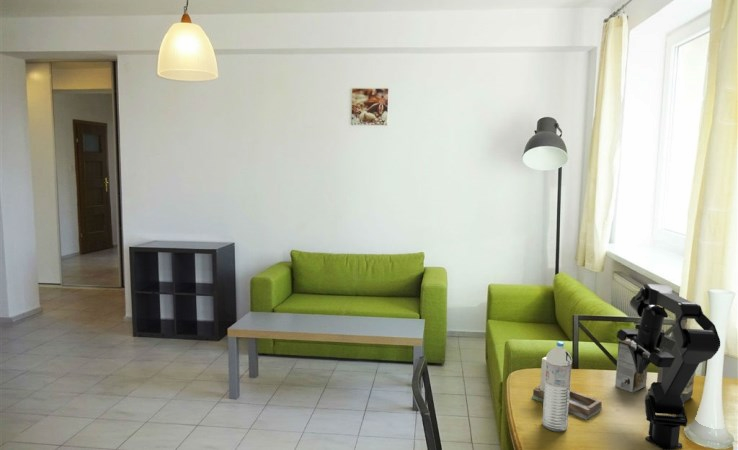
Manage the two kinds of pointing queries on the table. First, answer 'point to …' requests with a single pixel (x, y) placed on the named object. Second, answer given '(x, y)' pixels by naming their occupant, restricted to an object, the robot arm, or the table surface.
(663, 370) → the liquor
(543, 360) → the white juice carton
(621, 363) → the coffee box
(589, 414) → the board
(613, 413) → the table surface
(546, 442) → the table surface
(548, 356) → the water bottle
